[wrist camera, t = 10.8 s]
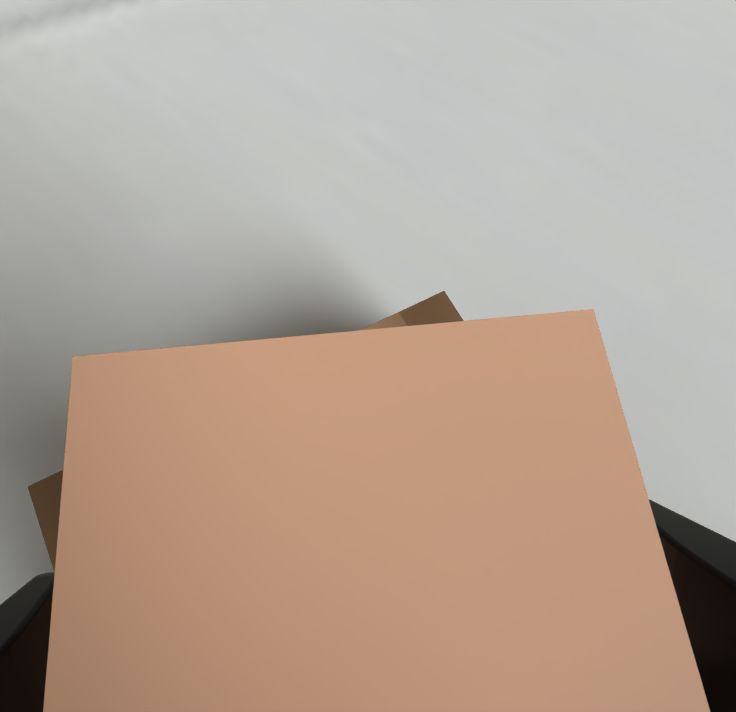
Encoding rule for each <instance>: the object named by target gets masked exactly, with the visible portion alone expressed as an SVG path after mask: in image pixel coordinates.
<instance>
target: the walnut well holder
mask: <svg viewBox="0 0 736 712" xmlns="http://www.w3.org/2000/svg"><path fill="white" fill-rule="evenodd" d="M459 321H463V319H462V318H461V316H460V315H459V313H458V312H457V310H456V308H455V307H454V305H453V304H452V302H451V301H450V299H449V298H448V296H447V295H446V293H445V292H444V291H443V292H441V293H439V294H436V295H434V296H432V297H430V298H428V299H426V300H424V301H421V302H419V303H417V304H415V305H413V306H411V307H409V308H407V309H404V310H402V311H400V312H398V313H396V314H394V315H392V316H390V317H387V318H385V319H383V320H381V321H379V322H377V323H375V324H373V325H370V326H368V327H366V328H364V329H362V330H370V329H381V328H392V327H403V326H414V325H425V324H436V323H448V322H459ZM62 480H63V470H62V471H60V472H58V473H56V474H54V475H52V476H49V477H47V478H45V479H43V480H41V481H39V482H37V483H35V484H32V485H30V486H28V489H29V492H30V495H31V498H32V502H33V505H34V508H35V511H36V514H37V518H38V521H39V524H40V527H41V530H42V534H43V537H44V540H45V543H46V546H47V549H48V553H49V556H50V559H51V562H52V565H53V569H54V572H55V564H56V552H57V540H58V528H59V516H60V504H61V492H62Z"/></svg>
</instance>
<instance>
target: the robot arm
mask: <svg viewBox="0 0 736 712" xmlns="http://www.w3.org/2000/svg"><path fill="white" fill-rule="evenodd" d="M649 503H650V506H651V509H652V513H653V516H654V520H655V523H656V527H657V530H658V533H659V537H660V540H661V544H662V547H663V551H664V554H665V558H666V561H667V564H668V568H669V571H670V575H671V578H672V582H673V585H674V589H675V592H676V595H677V599H678V602H679V606H680V609H681V613H682V616H683V620H684V623H685V626H686V630H687V633H688V637H689V640H690V644H691V647H692V650H693V654H694V657H695V661H696V664H697V668H698V671H699V675H700V678H701V681H702V685H703V688H704V692H705V695H706V699H707V702H708V706H709V709H710V712H736V542H734V541H732V540H730V539H728V538H726V537H724V536H722V535H720V534H718V533H716V532H714V531H712V530H710V529H708V528H706V527H704V526H702V525H700V524H698V523H696V522H694V521H692V520H690V519H688V518H686V517H684V516H682V515H680V514H678V513H676V512H674V511H672V510H670V509H668V508H666V507H664V506H662V505H660V504H658V503H655V502H653V501H651V500H649ZM54 575H55V572H53V573H45V574H40V575H38V576H36V577H34V578H33V579H32V580H30V581H29V582H28V583H27V584H26V585H24V586H23V587H22V588H21V589H19V590H18V591H17V592H16V593H14V594H13V595H12V596H11V597H9V598H8V599H7V600H6V601H5V602H3V603H2V604H1V605H0V712H43V707H44V695H45V683H46V671H47V659H48V647H49V635H50V623H51V611H52V599H53V587H54Z"/></svg>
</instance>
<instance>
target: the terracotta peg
mask: <svg viewBox="0 0 736 712" xmlns="http://www.w3.org/2000/svg"><path fill="white" fill-rule="evenodd" d="M43 712H710V709H709V706H708V702H707V699H706V695H705V692H704V688H703V685H702V681H701V678H700V675H699V671H698V668H697V664H696V661H695V657H694V654H693V650H692V647H691V644H690V640H689V637H688V633H687V630H686V626H685V623H684V620H683V616H682V613H681V609H680V606H679V602H678V599H677V595H676V592H675V589H674V585H673V582H672V578H671V575H670V571H669V568H668V564H667V561H666V558H665V554H664V551H663V547H662V544H661V540H660V537H659V533H658V530H657V527H656V523H655V520H654V516H653V513H652V509H651V506H650V503H649V499H648V496H647V492H646V489H645V485H644V482H643V478H642V475H641V472H640V468H639V465H638V461H637V458H636V454H635V451H634V447H633V444H632V441H631V437H630V434H629V430H628V427H627V423H626V420H625V416H624V413H623V410H622V406H621V403H620V399H619V396H618V392H617V389H616V385H615V382H614V379H613V375H612V372H611V368H610V365H609V361H608V358H607V355H606V351H605V348H604V344H603V341H602V337H601V334H600V330H599V327H598V324H597V320H596V317H595V313H594V310H593V309H591V310H580V311H569V312H558V313H547V314H536V315H525V316H514V317H503V318H492V319H481V320H470V321H459V322H448V323H436V324H425V325H414V326H403V327H392V328H381V329H370V330H359V331H348V332H337V333H326V334H315V335H304V336H293V337H282V338H271V339H259V340H248V341H237V342H226V343H215V344H204V345H193V346H182V347H171V348H160V349H149V350H138V351H127V352H116V353H105V354H94V355H83V356H73V360H72V372H71V384H70V396H69V408H68V420H67V432H66V444H65V456H64V468H63V480H62V492H61V504H60V516H59V528H58V540H57V552H56V564H55V575H54V587H53V599H52V611H51V623H50V635H49V647H48V659H47V671H46V683H45V695H44V707H43Z"/></svg>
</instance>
